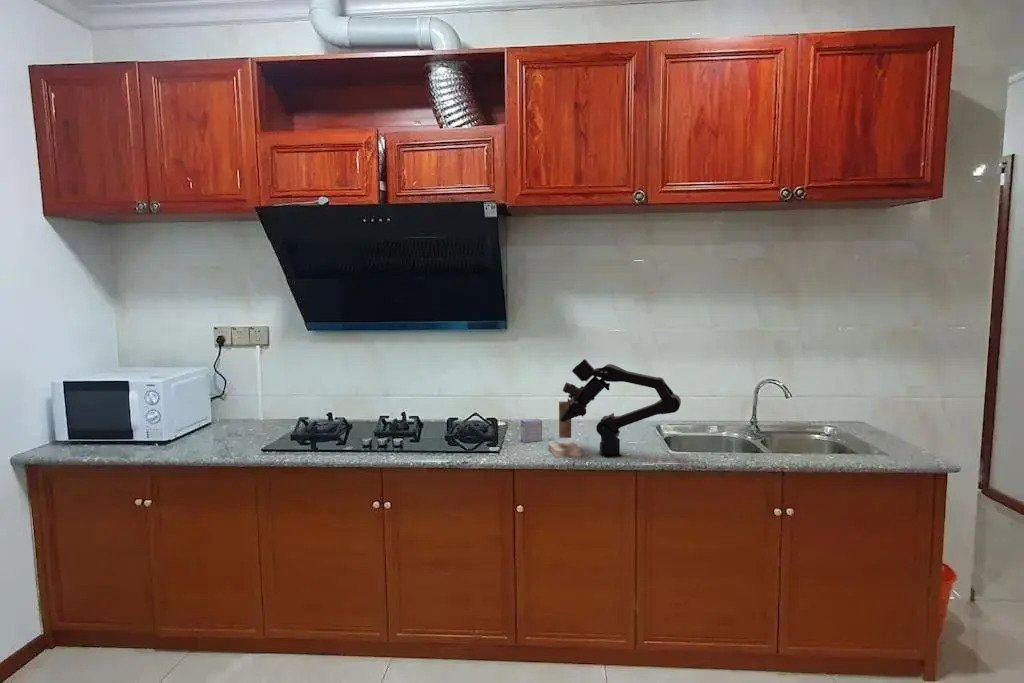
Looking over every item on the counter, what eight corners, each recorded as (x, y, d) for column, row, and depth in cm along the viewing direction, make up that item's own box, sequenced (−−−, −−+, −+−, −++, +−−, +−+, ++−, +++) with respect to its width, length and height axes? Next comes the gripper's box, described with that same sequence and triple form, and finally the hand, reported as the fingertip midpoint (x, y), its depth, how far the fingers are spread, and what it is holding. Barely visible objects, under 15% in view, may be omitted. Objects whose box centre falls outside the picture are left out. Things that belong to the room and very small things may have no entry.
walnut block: (570, 434, 230) (570, 401, 229) (571, 437, 226) (571, 403, 224) (559, 434, 230) (558, 401, 229) (559, 437, 226) (559, 403, 224)
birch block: (573, 449, 235) (573, 442, 234) (581, 457, 225) (581, 449, 225) (548, 451, 232) (548, 443, 232) (555, 458, 223) (556, 451, 222)
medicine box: (537, 438, 250) (538, 418, 249) (542, 441, 246) (542, 420, 245) (520, 440, 247) (520, 419, 246) (524, 443, 243) (524, 422, 242)
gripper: (573, 371, 235) (545, 399, 236) (577, 379, 216) (546, 409, 218) (594, 391, 235) (565, 419, 237) (599, 401, 217) (568, 431, 218)
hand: (561, 419), depth 227 cm, fingers closed on walnut block, 4 cm apart
